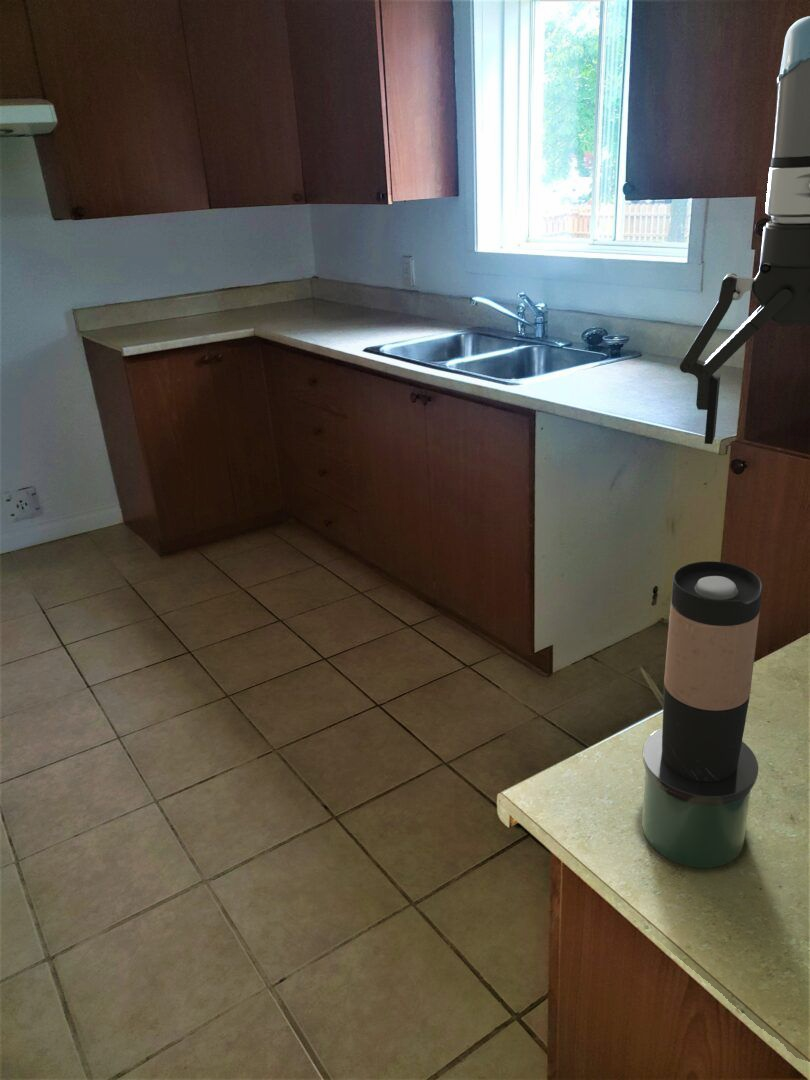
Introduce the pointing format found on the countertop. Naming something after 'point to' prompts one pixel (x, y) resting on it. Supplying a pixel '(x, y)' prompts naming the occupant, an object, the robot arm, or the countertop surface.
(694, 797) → the jar
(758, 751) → the countertop surface
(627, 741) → the countertop surface
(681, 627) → the travel mug
